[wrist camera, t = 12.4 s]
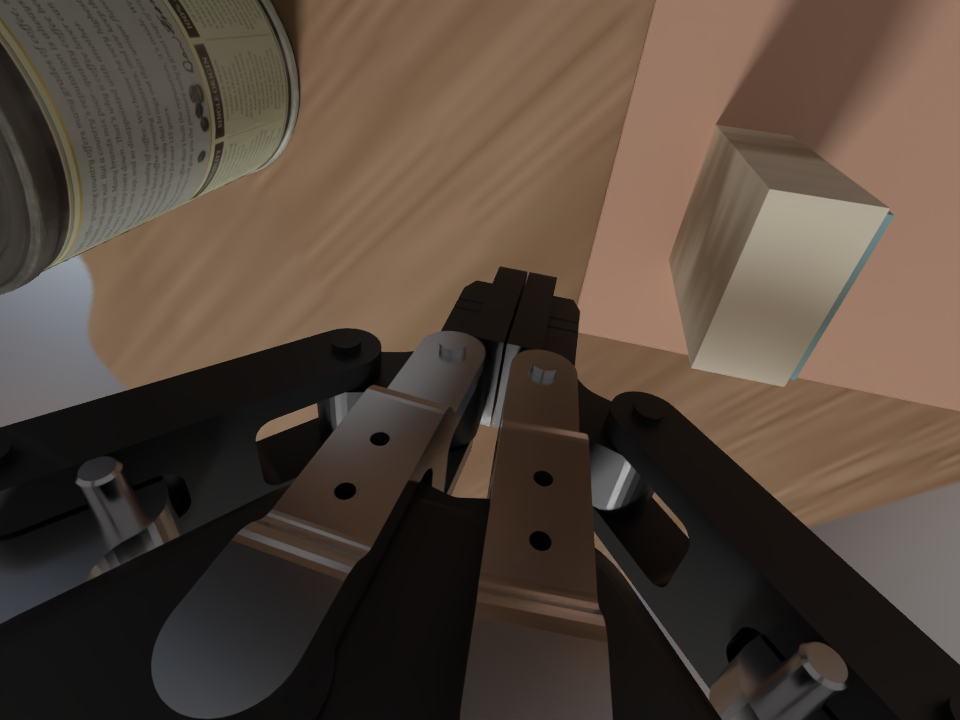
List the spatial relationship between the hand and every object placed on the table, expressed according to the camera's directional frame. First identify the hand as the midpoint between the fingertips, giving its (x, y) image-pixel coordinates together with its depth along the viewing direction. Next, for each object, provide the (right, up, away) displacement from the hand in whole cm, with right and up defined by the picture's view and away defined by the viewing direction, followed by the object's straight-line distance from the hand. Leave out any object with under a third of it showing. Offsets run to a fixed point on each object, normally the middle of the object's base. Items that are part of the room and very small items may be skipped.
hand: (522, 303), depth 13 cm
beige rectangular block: (+10, +5, +9) cm, 14 cm away
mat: (+14, +5, +9) cm, 17 cm away
